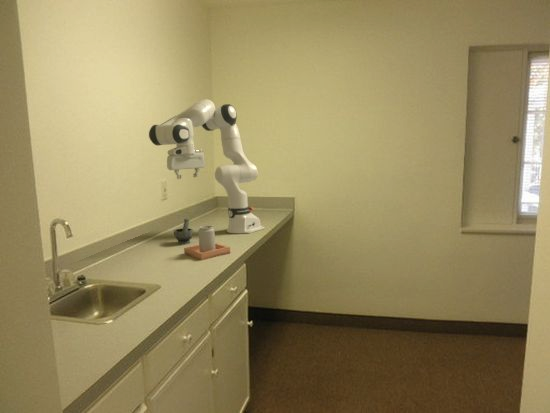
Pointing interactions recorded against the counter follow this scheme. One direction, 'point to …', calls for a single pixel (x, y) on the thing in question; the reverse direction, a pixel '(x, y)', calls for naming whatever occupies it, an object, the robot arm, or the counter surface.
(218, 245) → the dish
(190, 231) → the mortar and pestle
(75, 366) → the counter surface
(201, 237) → the can
